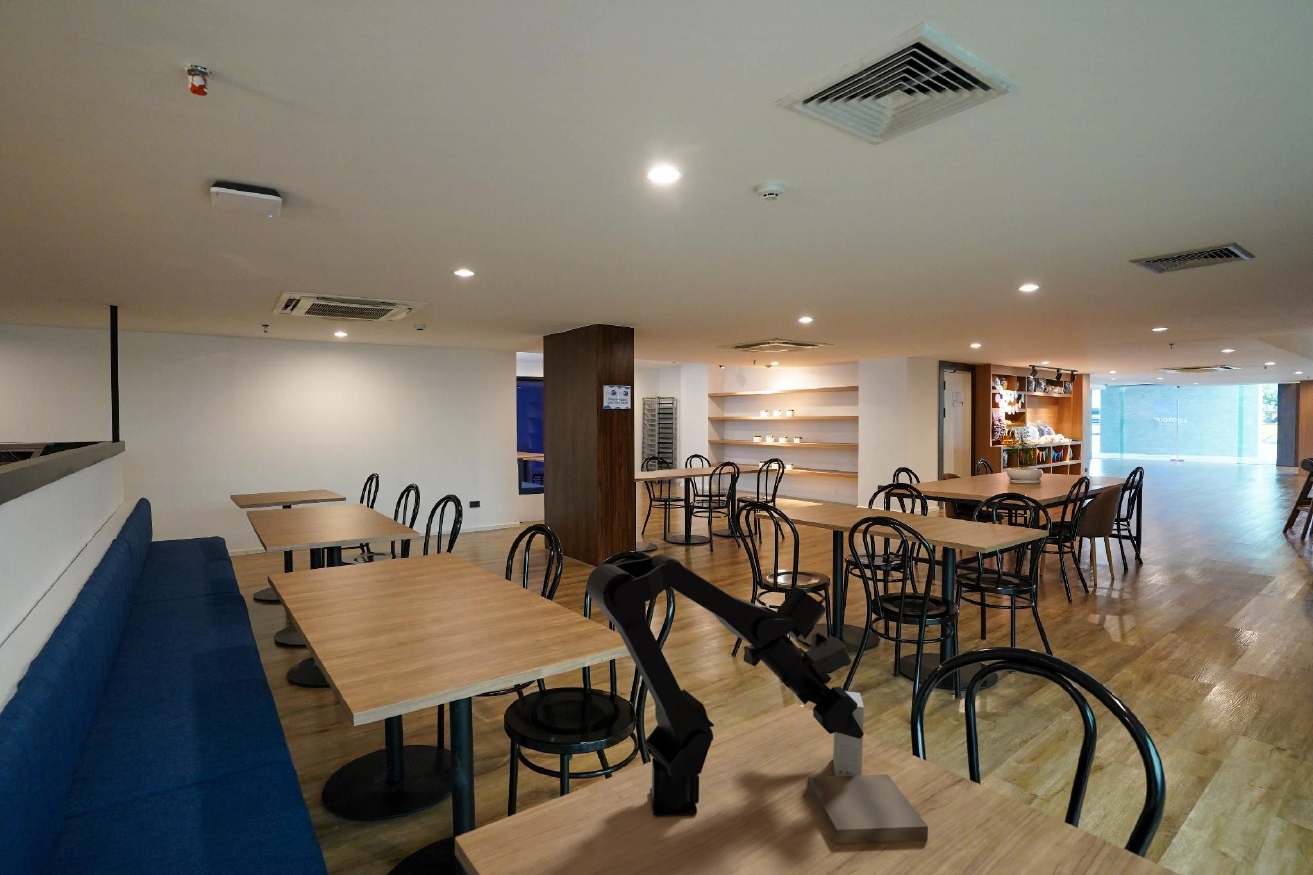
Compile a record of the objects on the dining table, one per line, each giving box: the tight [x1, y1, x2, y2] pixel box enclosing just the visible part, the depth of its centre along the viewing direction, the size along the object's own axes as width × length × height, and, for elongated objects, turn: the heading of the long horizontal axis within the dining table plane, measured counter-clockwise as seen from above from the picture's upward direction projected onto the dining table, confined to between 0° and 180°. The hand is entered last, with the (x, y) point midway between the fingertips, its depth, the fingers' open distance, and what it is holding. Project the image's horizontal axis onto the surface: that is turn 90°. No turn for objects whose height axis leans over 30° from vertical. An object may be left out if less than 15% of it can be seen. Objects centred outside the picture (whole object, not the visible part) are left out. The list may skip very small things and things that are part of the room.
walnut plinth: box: [806, 774, 929, 845], centre depth 98 cm, size 13×13×2 cm
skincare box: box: [832, 690, 865, 776], centre depth 110 cm, size 6×4×12 cm
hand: (848, 722), depth 110 cm, fingers open, 9 cm apart
